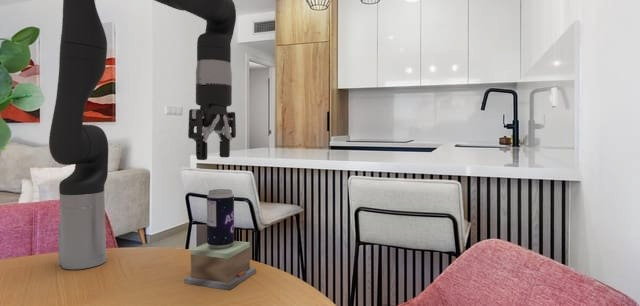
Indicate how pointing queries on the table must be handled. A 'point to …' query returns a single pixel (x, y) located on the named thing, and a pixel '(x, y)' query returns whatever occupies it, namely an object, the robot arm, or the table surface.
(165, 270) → the table surface
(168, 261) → the table surface
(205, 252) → the block
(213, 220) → the beverage can
